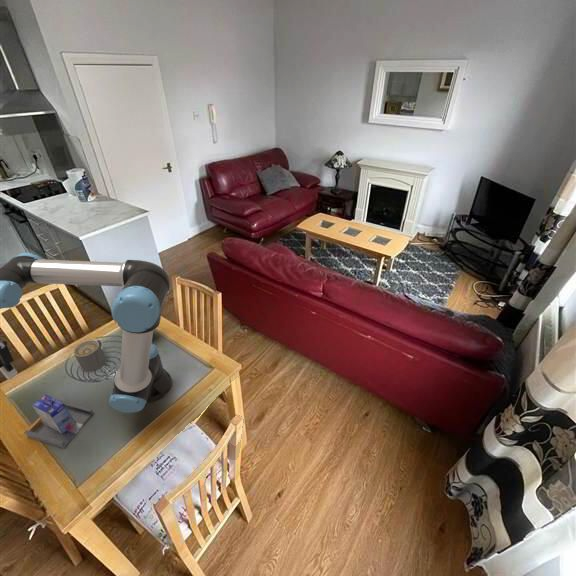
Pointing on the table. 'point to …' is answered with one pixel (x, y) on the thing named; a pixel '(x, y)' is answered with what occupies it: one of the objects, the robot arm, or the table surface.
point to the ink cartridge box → (54, 414)
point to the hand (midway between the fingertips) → (12, 375)
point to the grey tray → (54, 437)
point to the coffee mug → (90, 355)
